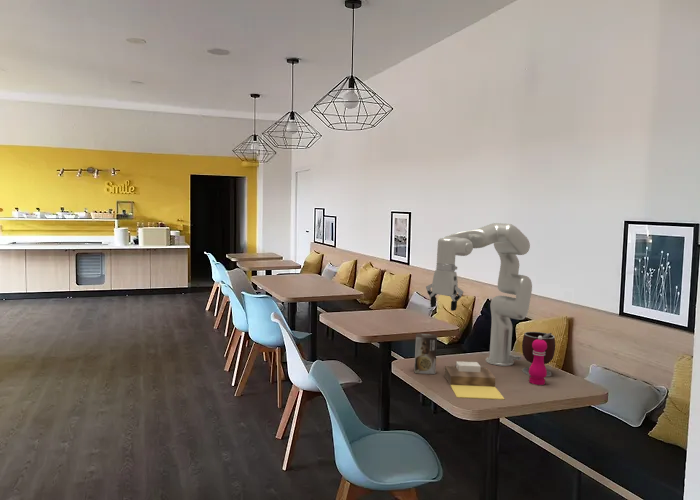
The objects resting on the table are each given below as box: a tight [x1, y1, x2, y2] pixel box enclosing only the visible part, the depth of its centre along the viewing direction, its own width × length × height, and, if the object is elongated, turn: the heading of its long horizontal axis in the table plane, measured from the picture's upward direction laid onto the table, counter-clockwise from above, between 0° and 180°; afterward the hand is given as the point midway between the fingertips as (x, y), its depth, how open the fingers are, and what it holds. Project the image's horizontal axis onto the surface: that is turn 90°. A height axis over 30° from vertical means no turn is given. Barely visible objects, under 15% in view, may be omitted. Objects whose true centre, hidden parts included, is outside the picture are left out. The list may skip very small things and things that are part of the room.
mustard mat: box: [449, 384, 506, 401], centre depth 215 cm, size 18×14×1 cm
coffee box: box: [413, 333, 438, 375], centre depth 240 cm, size 9×6×16 cm
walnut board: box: [444, 365, 496, 387], centre depth 229 cm, size 18×14×4 cm
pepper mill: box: [528, 336, 548, 386], centre depth 230 cm, size 7×7×20 cm
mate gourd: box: [521, 331, 556, 378], centre depth 244 cm, size 16×14×20 cm
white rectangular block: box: [455, 361, 482, 372], centre depth 232 cm, size 9×6×2 cm, turn 90°
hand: (443, 308), depth 230 cm, fingers open, 9 cm apart
